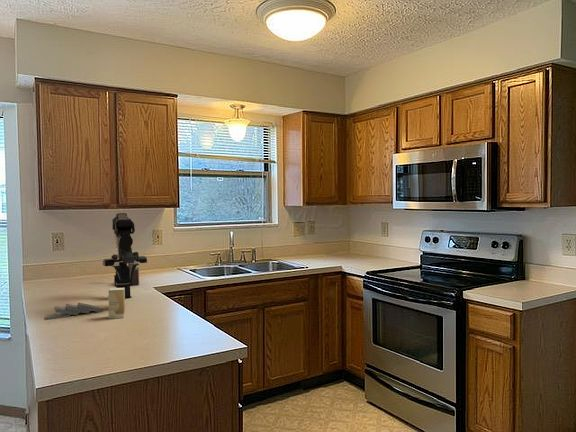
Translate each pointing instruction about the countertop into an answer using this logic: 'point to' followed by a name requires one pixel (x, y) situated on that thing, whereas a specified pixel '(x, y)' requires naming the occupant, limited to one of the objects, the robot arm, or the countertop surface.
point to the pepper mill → (135, 273)
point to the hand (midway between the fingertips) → (125, 279)
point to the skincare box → (116, 303)
